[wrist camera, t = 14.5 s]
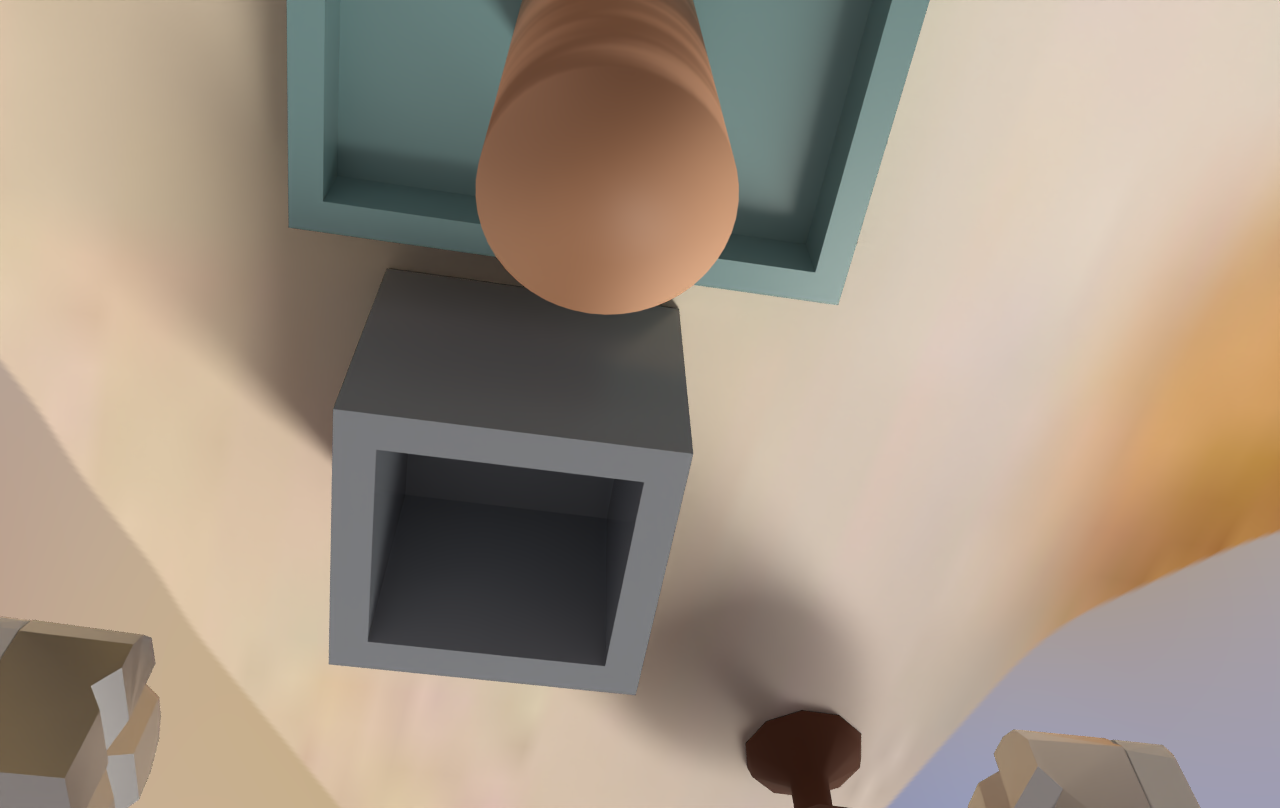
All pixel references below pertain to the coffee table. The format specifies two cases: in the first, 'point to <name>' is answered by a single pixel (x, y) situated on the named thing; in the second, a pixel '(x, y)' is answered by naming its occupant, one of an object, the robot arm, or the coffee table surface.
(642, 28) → the peg
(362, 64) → the tray
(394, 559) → the grey open square box
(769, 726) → the ice cream bowl
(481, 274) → the coffee table surface
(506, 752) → the coffee table surface
